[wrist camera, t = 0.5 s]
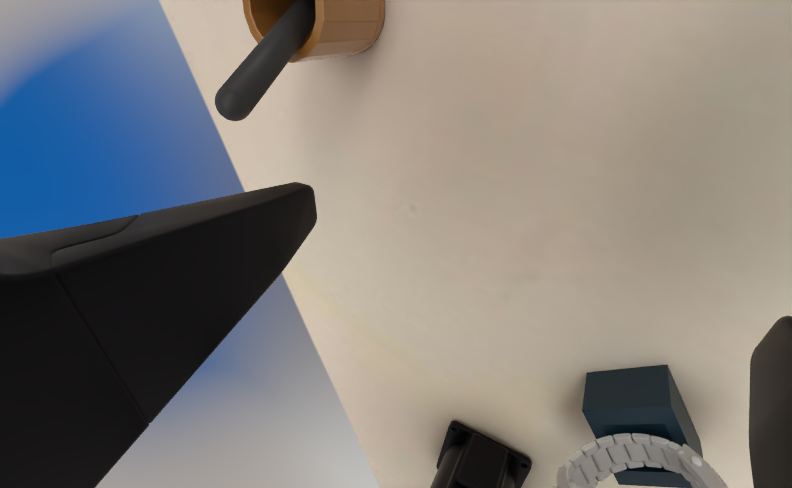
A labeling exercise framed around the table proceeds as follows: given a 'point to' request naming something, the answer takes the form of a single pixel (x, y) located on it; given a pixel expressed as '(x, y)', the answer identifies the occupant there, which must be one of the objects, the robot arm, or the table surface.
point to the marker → (265, 62)
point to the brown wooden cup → (323, 26)
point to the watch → (638, 434)
